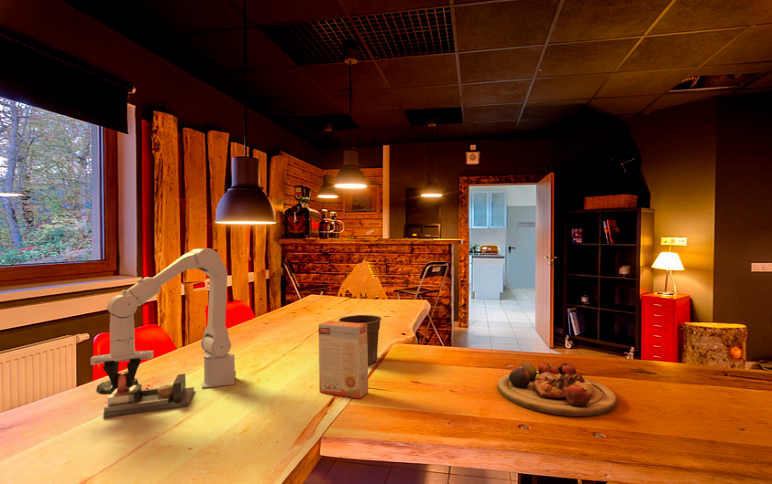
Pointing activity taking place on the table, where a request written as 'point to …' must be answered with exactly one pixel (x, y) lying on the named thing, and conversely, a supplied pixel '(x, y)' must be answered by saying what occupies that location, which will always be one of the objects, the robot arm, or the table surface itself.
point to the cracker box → (343, 359)
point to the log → (109, 387)
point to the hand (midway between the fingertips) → (123, 387)
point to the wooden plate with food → (556, 390)
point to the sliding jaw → (124, 391)
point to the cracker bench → (154, 400)
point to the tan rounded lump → (165, 392)
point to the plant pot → (368, 332)
